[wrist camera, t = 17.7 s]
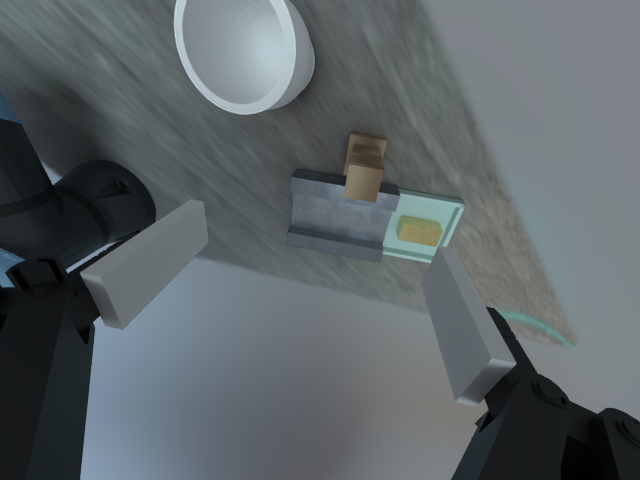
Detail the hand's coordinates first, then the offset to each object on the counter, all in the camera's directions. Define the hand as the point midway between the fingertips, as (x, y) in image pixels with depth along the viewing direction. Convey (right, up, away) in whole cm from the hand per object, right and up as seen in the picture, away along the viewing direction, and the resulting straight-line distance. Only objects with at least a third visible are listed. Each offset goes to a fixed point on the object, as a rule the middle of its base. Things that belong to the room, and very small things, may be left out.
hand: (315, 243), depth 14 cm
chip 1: (+15, +3, +28) cm, 32 cm away
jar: (-4, +24, +19) cm, 31 cm away
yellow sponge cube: (+16, +2, +27) cm, 31 cm away
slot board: (+4, +5, +29) cm, 30 cm away
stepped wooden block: (+7, +13, +24) cm, 28 cm away
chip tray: (+17, +3, +28) cm, 33 cm away
